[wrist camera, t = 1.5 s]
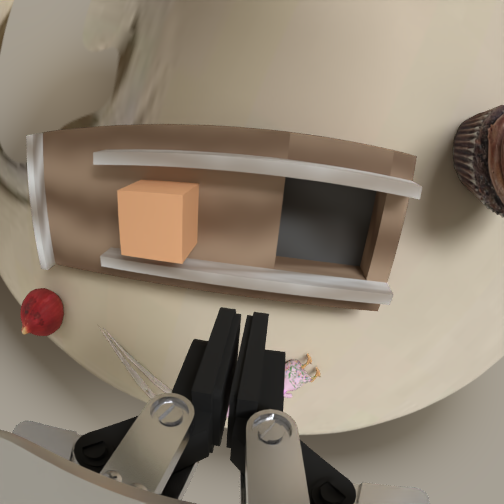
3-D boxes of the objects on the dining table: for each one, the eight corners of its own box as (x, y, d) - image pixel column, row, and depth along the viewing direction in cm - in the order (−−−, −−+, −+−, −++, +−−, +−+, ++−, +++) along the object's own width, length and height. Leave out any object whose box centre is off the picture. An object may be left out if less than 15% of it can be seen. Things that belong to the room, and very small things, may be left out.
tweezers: (182, 393, 39) (177, 403, 37) (159, 399, 40) (154, 408, 38) (102, 294, 35) (93, 302, 33) (83, 306, 36) (75, 314, 34)
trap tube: (55, 130, 25) (22, 135, 20) (403, 152, 23) (427, 159, 18) (64, 251, 31) (38, 270, 26) (370, 294, 29) (382, 324, 24)
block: (141, 179, 23) (117, 190, 20) (199, 183, 23) (182, 195, 19) (142, 236, 25) (121, 255, 22) (197, 242, 25) (182, 263, 21)
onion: (40, 272, 33) (1, 303, 25) (71, 284, 33) (33, 320, 25) (46, 308, 35) (13, 340, 28) (76, 321, 35) (44, 358, 28)
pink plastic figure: (300, 335, 33) (192, 385, 35) (310, 369, 28) (186, 419, 30) (321, 369, 35) (220, 412, 37) (333, 402, 29) (218, 446, 31)
